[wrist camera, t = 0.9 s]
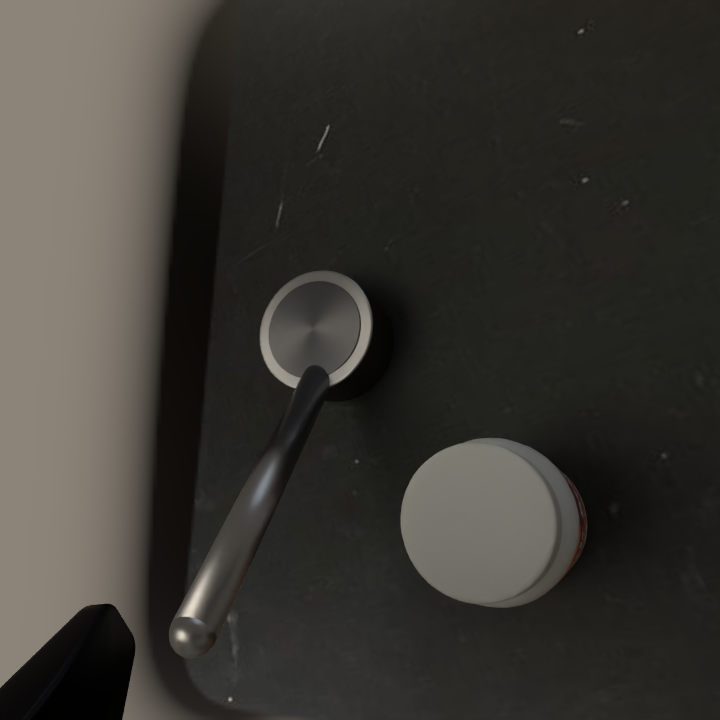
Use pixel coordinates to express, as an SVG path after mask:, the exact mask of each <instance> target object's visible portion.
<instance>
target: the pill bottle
mask: <svg viewBox="0 0 720 720" xmlns="http://www.w3.org/2000/svg"><path fill="white" fill-rule="evenodd" d="M401 532H402V537H403V541H404V544H405V548H406V550H407V553H408V555H409V557H410V559H411V561H412V563H413V564H414V566H415V568H416V569H417V571H418V572H419V573H420V574H421V576H422V577H423V578H424V579H425V580H426V581H427V582H428V583H429V584H430V585H431V586H433V587H434V588H436V589H437V590H439V591H440V592H442V593H443V594H445V595H447V596H449V597H451V598H454V599H456V600H459V601H463V602H467V603H472V604H478V605H482V606H488V607H500V608H509V607H515V606H519V605H524V604H527V603H530V602H532V601H534V600H536V599H538V598H539V597H541V596H543V595H544V594H546V593H547V592H548V591H549V590H550V589H551V588H553V587H554V586H555V585H556V584H557V583H558V582H559V581H560V580H561V579H562V578H563V577H564V576H565V575H566V574H567V573H568V572H569V571H570V569H571V568H572V567H573V565H574V564H575V563H576V562H577V560H578V558H579V557H580V555H581V553H582V550H583V548H584V545H585V542H586V536H587V516H586V511H585V507H584V504H583V501H582V499H581V496H580V494H579V492H578V490H577V489H576V487H575V486H574V484H573V483H572V482H571V481H570V479H569V478H568V477H567V476H566V475H565V474H564V473H563V472H562V471H561V470H560V469H559V468H557V467H556V466H555V465H554V464H553V463H552V462H551V461H550V460H549V459H548V458H547V457H546V456H544V455H543V454H541V453H540V452H538V451H536V450H534V449H533V448H531V447H529V446H526V445H524V444H521V443H517V442H514V441H511V440H507V439H501V438H481V439H474V440H471V441H467V442H465V443H461V444H457V445H454V446H451V447H448V448H446V449H444V450H442V451H440V452H438V453H436V454H435V455H434V456H432V457H431V458H430V459H428V460H427V461H426V462H425V463H424V464H423V465H422V466H421V467H420V468H419V469H418V470H417V472H416V473H415V474H414V476H413V477H412V479H411V481H410V483H409V485H408V487H407V489H406V492H405V495H404V499H403V502H402V508H401Z"/></svg>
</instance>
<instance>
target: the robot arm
mask: <svg viewBox="0 0 720 720" xmlns="http://www.w3.org/2000/svg"><path fill="white" fill-rule="evenodd" d="M134 656H135V641H134V637H133V635H132V633H131V632H130V630H129V628H128V627H127V625H126V623H125V622H124V620H123V618H122V617H121V615H120V613H119V612H118V610H117V609H116V607H115V606H113V605H111V604H99V605H90V606H86V607H84V608H83V609H82V610H80V611H79V612H78V613H77V614H76V615H75V616H74V617H73V618H72V619H71V620H70V621H69V622H68V623H67V624H66V625H65V626H64V627H62V629H61V630H60V631H58V632H57V633H56V634H55V635H54V636H53V637H52V638H51V639H50V640H49V641H48V642H47V643H46V644H45V645H44V646H43V647H42V648H41V649H40V650H39V651H38V652H37V653H36V654H35V655H34V656H33V657H32V658H31V659H30V660H28V661H27V662H26V663H25V664H24V665H23V666H22V667H21V668H20V669H19V670H18V671H17V672H16V673H15V674H14V675H13V676H12V677H11V678H10V679H9V680H8V681H7V682H6V683H5V684H4V685H3V686H2V687H1V688H0V720H122V717H123V712H124V707H125V702H126V697H127V692H128V687H129V681H130V676H131V671H132V666H133V661H134Z"/></svg>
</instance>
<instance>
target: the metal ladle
mask: <svg viewBox="0 0 720 720" xmlns="http://www.w3.org/2000/svg"><path fill="white" fill-rule="evenodd" d="M259 341H260V349H261V354H262V357H263V360H264V362H265V364H266V366H267V368H268V369H269V371H270V372H271V374H272V375H273V376H274V377H275V378H276V379H277V380H278V381H280V382H281V383H282V384H284V385H285V386H287V387H289V388H292V389H294V392H293V394H292V396H291V398H290V400H289V401H288V403H287V405H286V407H285V409H284V411H283V413H282V415H281V417H280V418H279V420H278V422H277V424H276V426H275V428H274V430H273V432H272V434H271V436H270V437H269V439H268V441H267V443H266V445H265V447H264V449H263V451H262V453H261V454H260V456H259V458H258V460H257V462H256V464H255V466H254V468H253V470H252V471H251V473H250V475H249V477H248V479H247V481H246V483H245V485H244V487H243V489H242V490H241V492H240V494H239V496H238V498H237V500H236V502H235V504H234V506H233V507H232V509H231V511H230V513H229V515H228V517H227V519H226V521H225V523H224V525H223V526H222V528H221V530H220V532H219V534H218V536H217V538H216V540H215V542H214V543H213V545H212V547H211V549H210V551H209V553H208V555H207V557H206V559H205V561H204V562H203V564H202V566H201V568H200V570H199V572H198V574H197V576H196V578H195V579H194V581H193V583H192V585H191V587H190V589H189V591H188V593H187V595H186V596H185V598H184V600H183V602H182V604H181V606H180V608H179V610H178V612H177V614H176V615H175V617H174V619H173V621H172V624H171V626H170V630H169V640H170V644H171V646H172V647H173V649H174V651H175V652H176V653H178V654H179V655H181V656H183V657H186V658H197V657H200V656H202V655H204V654H206V653H207V652H208V651H209V650H210V649H211V648H212V647H213V645H214V644H215V642H216V640H217V638H218V635H219V633H220V631H221V629H222V627H223V624H224V622H225V620H226V618H227V615H228V613H229V611H230V609H231V607H232V604H233V602H234V600H235V598H236V596H237V593H238V591H239V589H240V587H241V584H242V582H243V580H244V578H245V576H246V573H247V571H248V569H249V567H250V565H251V562H252V560H253V558H254V556H255V554H256V551H257V549H258V547H259V545H260V542H261V540H262V538H263V536H264V534H265V531H266V529H267V527H268V525H269V523H270V520H271V518H272V516H273V514H274V511H275V509H276V507H277V505H278V503H279V500H280V498H281V496H282V494H283V492H284V489H285V487H286V485H287V483H288V481H289V478H290V476H291V474H292V472H293V469H294V467H295V465H296V463H297V461H298V458H299V456H300V454H301V452H302V450H303V447H304V445H305V443H306V441H307V438H308V436H309V434H310V432H311V430H312V427H313V425H314V423H315V421H316V419H317V416H318V414H319V412H320V410H321V407H322V405H323V403H324V401H325V400H326V401H343V400H348V399H351V398H354V397H356V396H359V395H361V394H362V393H364V392H365V391H367V390H368V389H369V388H371V387H372V386H373V385H374V384H375V383H376V382H377V381H378V380H379V378H380V377H381V376H382V374H383V373H384V371H385V369H386V367H387V365H388V363H389V360H390V357H391V354H392V349H393V330H392V326H391V322H390V319H389V317H388V315H387V313H386V311H385V310H384V308H383V307H382V306H381V305H380V303H379V302H378V301H376V300H375V299H374V298H373V297H372V296H371V295H370V294H368V293H367V292H366V291H365V290H364V289H363V288H362V287H360V286H359V285H358V284H357V283H356V282H355V281H353V280H352V279H351V278H349V277H347V276H345V275H343V274H341V273H338V272H334V271H328V270H319V271H312V272H308V273H305V274H302V275H300V276H297V277H296V278H294V279H292V280H290V281H289V282H288V283H286V284H285V285H284V286H283V287H282V288H280V289H279V291H278V292H277V293H276V294H275V295H274V296H273V298H272V299H271V301H270V302H269V304H268V306H267V308H266V310H265V312H264V315H263V318H262V321H261V326H260V335H259Z"/></svg>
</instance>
